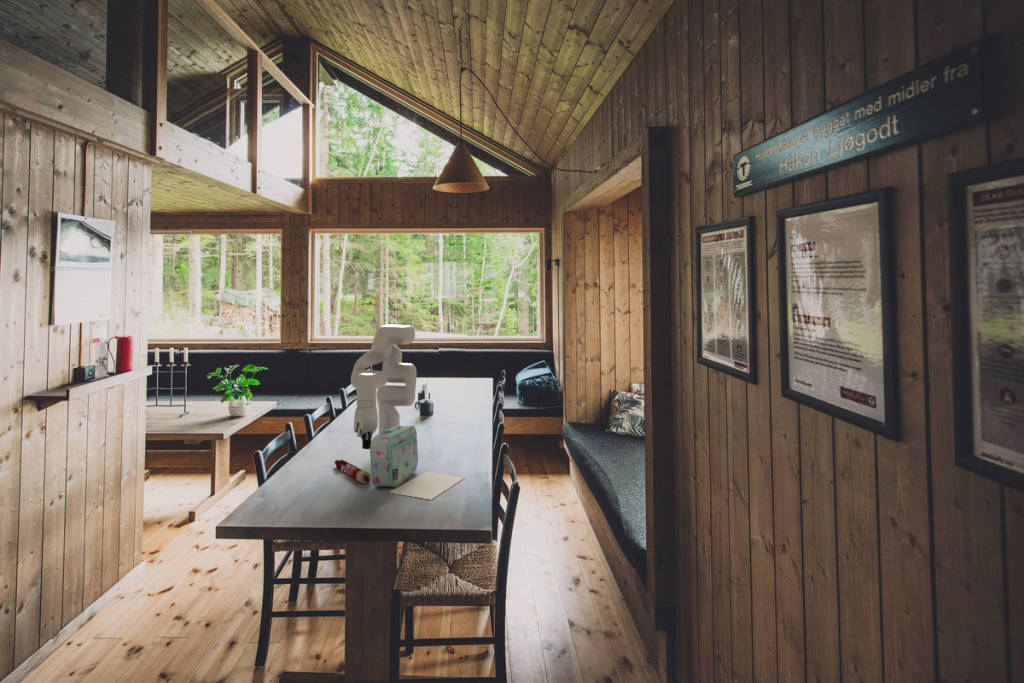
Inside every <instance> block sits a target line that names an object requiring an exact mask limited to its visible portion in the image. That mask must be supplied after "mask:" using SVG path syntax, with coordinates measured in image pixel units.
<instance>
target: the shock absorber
mask: <svg viewBox="0 0 1024 683" xmlns="http://www.w3.org/2000/svg"><path fill="white" fill-rule="evenodd" d="M334 464H335V466H336V467H335V468H336V469H337V470H338V471H339V472H341V471H342V470H343V471H342V473H344V474H345V475H346V476H349V477H351V478H352V479H353V480H354V479H355V480H356V481H357V482H358V483H360V482H361V484H363V483H365V484H367V483H369V482H371V481H370V480H371V474H370V473H369V472H368V471H366V470H364V469H361V468H359V467H357V465H356V466H355V465H353V464H352V463H350V462H348V461H346V460H344V459H336V460H335V461H334ZM340 469H341V470H340ZM344 469H345V470H344ZM344 471H345V472H344ZM346 472H347V473H346ZM348 473H349V474H348Z"/></svg>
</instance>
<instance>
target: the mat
mask: <svg viewBox="0 0 1024 683" xmlns="http://www.w3.org/2000/svg"><path fill="white" fill-rule="evenodd" d="M464 478H465V477H463V476H455V475H450V474H443V473H437V472H430V471H426V472H423V473H422V474H420V475H418V476H416V477H414V478H412V479H410V480H409V481H407V482H405V483H403V484H402V485H401V484H400V485H399V486H397V487H395V488H394V489H392V490H391V491H392V492H391V491H389V492H391V493H390V494H392V493H393V492H394V493H395V494H394V495H397V494H401V495H400V496H403V495H406V496H405V497H409V496H412V497H411V498H414V497H417V499H420V498H423V499H422V500H426V499H429V500H428V501H432V499H433V498H434V499H436V498H437V497H439V496H440V495H442V494H444V493H445V492H446V491H448V490H449V489H452V488H453V487H454V486H456V485H457V484H459V483H460V482H462V481H464V480H465V479H464ZM461 480H462V481H461ZM458 482H459V483H458ZM455 484H456V485H455ZM453 485H454V486H453ZM452 486H453V487H452ZM444 491H445V492H444ZM441 493H442V494H441ZM438 495H439V496H438ZM436 496H437V497H436ZM435 497H436V498H435ZM434 499H433V500H434Z"/></svg>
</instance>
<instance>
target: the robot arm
mask: <svg viewBox="0 0 1024 683" xmlns="http://www.w3.org/2000/svg"><path fill="white" fill-rule="evenodd" d="M415 337H416V331H415V328H414V327H413V326H412V325H411V324H410V325H409V324H407V325H406V324H405V325H403V324H385V325H381V326H379V327H377V329H376V331H375V333H374V337H373V340H372V344H371V347H370V350H368V351H367V352H365V353H364V354H363V355H361V356H360V357H359V358H358V359H357V360H356V362H355V363H354V366H353V368H352V369H353V370H352V372H351V375H350V376H351V377H350V382H351V385H352V387H354V388H356V408H355V410H354V411H355V412H354V418H353V419H354V420H353V432H354V433H356V437H359V438H361V440H362V442H361V444H362V446H361V447H362V450H363V449H364V450H370V444H371V441H372V439H373V434H374V433H375V432H376V431H377V428H378V434H379V433H381V432H382V431H383V430H387V429H389V428H392V427H394V426H401V425H400V423H401V422H400V419H401V418H400V417H401V416H400V413H399V411H398V409H397V408H396V407H411V406H413V405H414V403H415V400H416V391H417V390H416V387H417V375H418V374H417V368H416V366H415V364H413V363H410V362H409V363H408V362H403V353H402V350H401V349H400V347H399V346H398V345H409V344H411V343H413V342H414V340H415ZM380 363H382V370H376V369H375V370H372V369H367V368H369V367H371V366H374V365H378V364H380ZM387 383H390V385H387ZM391 384H404V385H391ZM377 408H378V409H377Z"/></svg>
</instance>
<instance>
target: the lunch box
mask: <svg viewBox="0 0 1024 683" xmlns="http://www.w3.org/2000/svg"><path fill="white" fill-rule="evenodd" d="M418 451H419V450H418V436H417V429H416V427H415V425H400V426H394V427H392V428H389V429H387V430H383V431H382V432H381V433H379V432H378V434H376V435H375V436H373V437H372V438H371V444H370V449H369V454H370V455H369V457H370V471H371V477H372V482H373V485H374V486H375V487H392V488H398V487H399V486H401V484H402V483H403V482H405V481H406V480H407V479H409V478H410V477H411V476H412V474H414V473H415V472H416V469H417V467H418V461H419V452H418ZM403 484H404V483H403Z"/></svg>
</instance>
